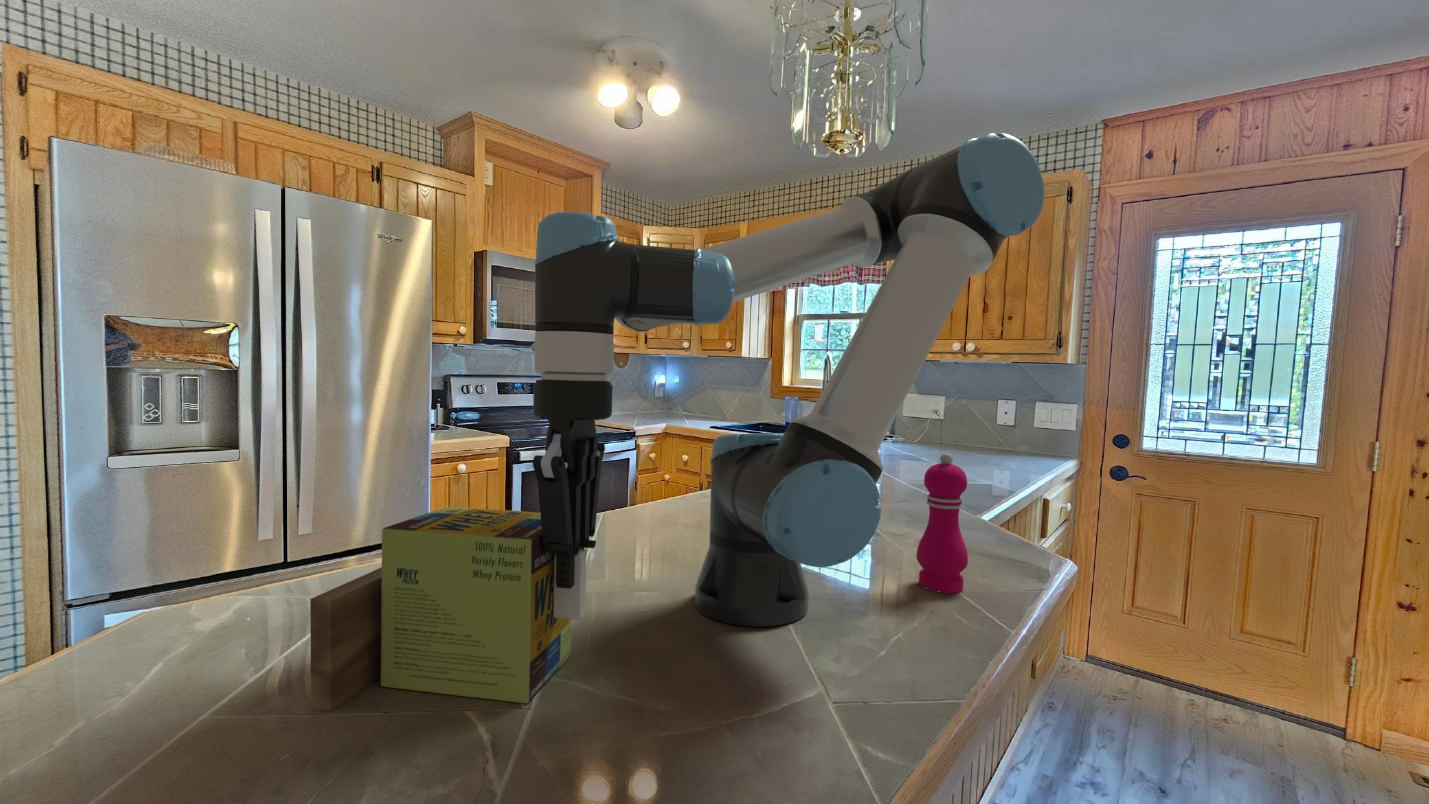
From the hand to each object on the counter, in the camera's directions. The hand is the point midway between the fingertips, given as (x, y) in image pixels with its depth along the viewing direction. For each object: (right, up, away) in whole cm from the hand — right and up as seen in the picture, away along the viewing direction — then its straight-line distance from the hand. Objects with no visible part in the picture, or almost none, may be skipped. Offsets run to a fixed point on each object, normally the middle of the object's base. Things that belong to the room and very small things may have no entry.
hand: (569, 615), depth 62 cm
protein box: (-9, -6, +2) cm, 11 cm away
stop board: (-19, -6, +3) cm, 20 cm away
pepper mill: (+48, -7, +31) cm, 58 cm away
